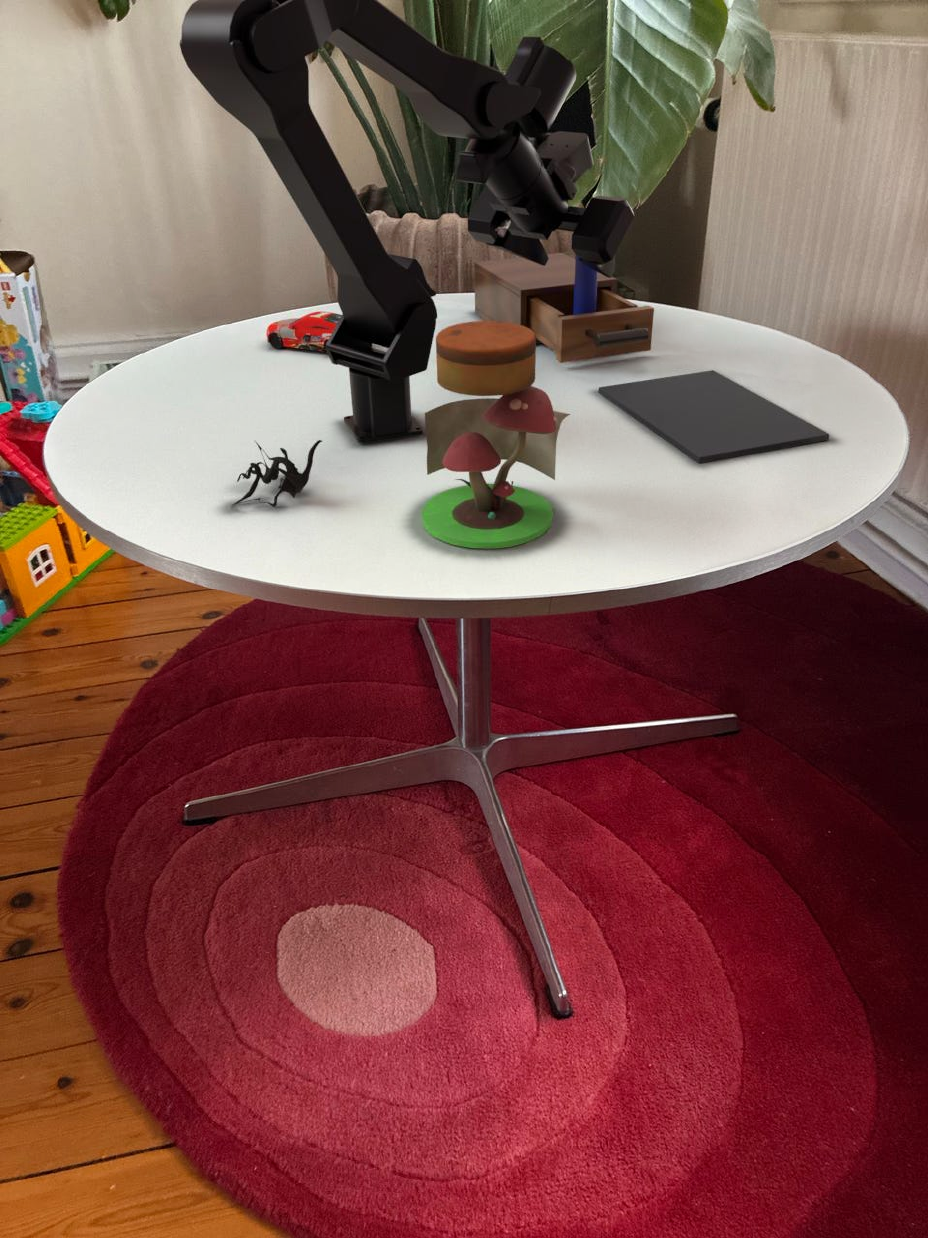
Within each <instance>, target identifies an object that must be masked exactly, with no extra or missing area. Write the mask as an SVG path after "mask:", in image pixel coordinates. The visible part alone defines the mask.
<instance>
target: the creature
mask: <svg viewBox="0 0 928 1238" xmlns="http://www.w3.org/2000/svg"><path fill="white" fill-rule="evenodd" d="M253 441H254V443H256V445H257V447H258V449H259V451H260V454H261V456H262V459H263V462H262V461H259V462H250V463H249V465H250V466H249V467H248V469H247V470H246V471H245V473H244V472H241V473H240V474H239V475H238V478H237V480H236V483H238V482H239V481H240V480H241V478H242V479H243V480H244V479H247V480H249V479H250V478H251V476H252V474H253V475H255V479H254V481H253V482H252V484H251V485H250V488H249V490H248V491H247V493H246V494H245V495H243V496H242V498H240V499H238V500H237V501H236V502H234V503H233V504H231V505H230V507H233V506H235V505H237V504H242V503H247V502H252V501H259V503H261V504H268V505H269V506H271V507H272V508H275V507H277V504H278V497H280V495H281V494H282V493H283V492H285V493H287V494H290V496H292V498H293V499H295V497H296V495H297V494H299V493H301V491H303V490H304V488H305V487H306V485H307V484H308V481H309V480H310V474H311V470H312V467H313V461H314V455H315V451H316V449H317V447H318V446H319V445H320V443H324V442H323V440H322V439H318V440H316V442H314V444H312V446H311V447H310V449H309V451H308V454H307V461H306V466H305V468H304V470H303V472H299V470H298V467H296V465H295V463H294V462H293V461H291V460H290V459H289V456H288V452H287V450H286V449H285V448H283V447H280V448H279V450H280V451H281V453H282V454H283V456H274V457H270V456H268V454H267V453H266V452H265V450H264V449H263V447H261V445H260V444H259V443H258V442H257V440H255V439H253ZM263 453H264V454H265V456H266V457H267V458H268V460H270V461H272V464H271V466H270V467H269V466H268V464H267V463H266V460H265V458H264V455H263ZM280 464H282V465H284V466H285V469H283V468H282V467H280ZM260 465H263V466H264V467H265V472H264V474H263V473H262V469H261V466H260ZM280 473H281V474H282V475H284V476H282V477H280V478H279V474H280ZM241 476H242V477H241ZM278 478H279V482H280V483H279V486H278V487H277V489H278V491H277V493H276V494H275V496H274V498H273V503H272V502H269V501H263V502H262V501H261V499H262V498H261V497H258V498H253V499H250V500H247V499H249V498H250V497H252V496H253V495H254V493H255V492H256V490H257V487H258V486H259V482H260V481H262V483H263V484H265V485H269V484H271V483H272V481H277V479H278ZM283 478H284V479H283Z"/></svg>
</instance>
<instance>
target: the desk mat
mask: <svg viewBox="0 0 928 1238" xmlns="http://www.w3.org/2000/svg"><path fill="white" fill-rule="evenodd" d="M597 392H598V393H599V394H600V395H601V396H603V397H604V398H606V400H608V401H610V402H611V403H613V404H614V405H615V406H617V407H619V409H621V410H622V411H624V412H625V413H626V414H628V415H630V416H631V417H632V418H634V419H635V420H637V421H638V422H640V424H642V425H644V426H645V427H647V428H648V429H650V430H651V431H653V432H654V434H657V435H658V436H659V437H661V438H662V439H664V440H665V441H666V442H668V443H669V444H670V445H672V446H674V447H675V448H677V450H680V451H681V452H682V453H683V454H685V455H687V457H690V459H692V460H694V461H695V462H696V463H698V464H701V463H707V462H712V461H718V460H724V459H729V458H735V457H740V456H741V457H742V456H745V455H751V454H757V453H758V454H759V453H763V452H769V451H773V450H779V449H785V448H790V447H795V446H801V445H806V444H813V443H818V442H824V441H829V439H830V433H828V432H827V431H825V430H823V429H821V428H819V427H818V426H816V425H814V424H812V423H810V422H808V421H806V420H805V419H803V418H801V417H799V416H798V415H795V414H794V413H792V412H790V411H788V410H786V409H784V408H783V407H781V406H779V405H777V404H775V403H774V402H772V401H770V400H768V399H766V398H765V397H763V396H761V395H759V394H758V393H755V392H754V391H752V390H750V389H748V388H747V387H745V386H742V385H741V384H739V383H737V382H735V381H733V380H732V379H730V378H728V377H726V376H724V375H723V374H720V373H719V372H717V371H716V370H713V369H711V370H706V371H698V372H691V373H685V374H679V375H672V376H666V377H658V378H652V379H646V380H638V381H632V382H624V383H619V384H611V385H605V386H599V387H598V391H597Z"/></svg>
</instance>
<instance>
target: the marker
mask: <svg viewBox="0 0 928 1238" xmlns="http://www.w3.org/2000/svg"><path fill="white" fill-rule="evenodd" d="M579 258H580V257H579V256H577V255H576V254H575V258H574V259H575V283H574V308H573V315H579V314H587V313H595V312H596V298H597V279H598V272H597V271H595V270H593V269H592V268H590V267H588V266H586V265H585V264H583V263H581V262H580V261H579Z"/></svg>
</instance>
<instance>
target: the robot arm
mask: <svg viewBox="0 0 928 1238" xmlns="http://www.w3.org/2000/svg"><path fill="white" fill-rule="evenodd" d="M180 37H181V39H180V40H179V48H180V53H181V55H182V57H183V59H184V61H185V65H186V66H187V68H188V69H189V71H190V72H191V74H193V76H194V77H195V78H196V79H197V81H198V82H199V83H200V84H201V86H203V88H204V89H205V90H206V91H207V92H208V94H209V95H210V97H212V98H213V100H214V101H215V102H216V103H217V104H218V105H219V106H220V107H221V108H223V109H224V111H226V112H227V113H228V114H230V115H231V116H232V117H233V118H235V119H236V120H237V121H238V122H239V123H241V124H242V125H243V126H244V127H245V128H246V129H248V130H249V131H250V132H251V133H252V134H253V135H254V137H255V138H256V139H257V141H258V143H259V145H260V147H261V148H262V150H263V151H264V153H265V155H266V157H267V159H268V160H269V162H270V163H271V165H272V167H273V169H274V170H275V171H276V174H277V175H278V177H279V179H280V180H281V182H282V184H283V186H284V187H285V189H286V190H287V192H288V194H289V195H290V197H291V200H293V202H294V204H295V206H296V208H297V209H298V211H299V212H300V214H301V217H302V218H303V220H304V221H305V222H306V225H307V226H308V228H309V230H310V231H311V233H312V235H313V236H314V238H315V240H316V242H317V243H318V245H319V246H320V248H321V249H322V251H323V253H324V255H325V257H326V258H327V260H328V262H329V263H330V265H331V267H332V269H333V270H334V272H335V274H336V276H337V292H336V293H337V296H336V298H337V299H336V300H337V304H338V306H339V308H340V309H339V310H340V312H341V313H342V314H341V315H342V316H341V318H340V320H339V321H338V323H337V325H336V327H335V329H334V330H333V332H332V334H331V336H330V338H329V339H328V341H327V343H326V346H325V347H326V350H327V352H326V353H327V355H328V357H329V360H330V363H331V364H333V365H335V366H337V365H339V366H341V367H345V368H347V369H348V374H349V375H348V376H349V386H350V398H351V409H352V415H347V416H343V423H344V424H345V426H346V427H347V429H348V430H349V432H350V433H351V435H352V436H353V437H354V438H355V440H356V441H357V443H359V444H367V443H368V444H369V443H375V442H382V441H388V440H394V439H401V438H402V439H403V438H406V437H407V438H408V437H415V436H420V435H423V434H424V428H423V426H422V425H421V424H420V423H419V422H418V421H417V420H416V418H415V417H414V416H413V415H412V402H411V400H412V398H411V379H410V377H411V376H414V375H417V374H420V373H423V372H425V371H427V370H428V366H429V361H430V356H431V351H432V346H433V341H434V336H435V332H436V325H437V318H438V311H437V306H436V304H435V301H434V299H433V298H434V297H436V296H437V291H435V290H434V289H433V288H432V287H431V286H430V284H429V283H428V281H427V279H426V278H427V277H426V276H425V272H424V270H423V267H422V265H421V263H419V261H418V259H416V258H412V257H406V256H403V255H397V254H393V253H388V251H387V250H386V249H385V245H384V244H383V243H382V240H381V239H380V237H379V235H378V233H377V231H376V228H375V227H374V226H373V223H372V222H371V220H370V218H369V216H368V214H367V212H366V210H365V208H364V207H363V205H362V203H361V201H360V199H359V197H358V195H357V193H356V191H355V190H354V188H353V186H352V183H351V182H350V180H349V178H348V177H347V174H346V173H345V171H344V169H343V167H342V165H341V162H340V161H339V160H338V157H337V155H336V153H335V152H334V149H333V148H332V146H331V144H330V142H329V141H328V139H327V137H326V135H325V132H324V131H323V128H322V127H321V125H320V123H319V121H318V119H317V117H316V116H315V114H314V112H313V110H312V107H311V104H310V73H309V72H310V71H309V65H308V61H307V59H306V57H308V56H309V55H311V54H312V53H314V52H316V51H318V50H319V49H321V48H322V46H323V45H324V44H325V42H326V41H327V42H329V44H331V45H333V46H334V47H336V48H337V49H339V50H340V51H342V52H343V53H344V54H346V55H348V56H349V57H350V58H352V59H354V60H355V61H357V62H358V63H360V64H361V65H362V66H364V67H366V68H367V69H368V70H370V71H372V72H373V73H374V74H376V75H378V76H379V77H381V79H383V80H385V81H386V82H388V83H389V84H391V85H392V86H394V87H395V88H397V89H398V90H400V91H401V92H402V93H403V94H404V95H405V96H406V97H407V98H408V99H409V100H410V103H411V106H412V109H413V111H414V113H415V115H416V116H417V117H418V118H419V119H421V121H423V123H424V124H426V126H427V127H428V128H429V129H430V130H431V131H432V132H434V133H435V134H436V135H439V136H441V137H449V138H460V139H470V140H469V141H468V144H467V146H466V148H465V150H461V151H459V153H458V157H459V158H458V164H457V165H456V167H455V168H456V170H455V180H456V181H457V182H462V183H470V184H479V185H484V187H483V188H482V190H481V193H480V195H479V197H478V198H477V200H476V202H475V204H474V206H473V208H472V210H471V212H470V213H469V215H468V217H467V221H466V222H467V232H468V233H469V234H470V236H471V237H472V238H473V240H474V241H475V242H477V243H484V244H485V245H486V246H488V247H492V248H495V249H498V250H501V251H504V252H507V253H509V254H512V255H514V256H516V257H522V258H525V259H527V260H530V261H532V262H535V263H537V264H540V265H543V266H545V265H546V263H547V261H548V259H549V257H548V255H547V254H548V252H547V251H546V250H547V249H546V248H545V246H544V244H543V243H542V241H541V240H543V241H549V238H550V236H551V235H552V233H553V232H555V231H558V230H559V231H565V232H571V233H572V234H571V246H570V247H571V250H572V252H573V253H574V255H575V256H576V255H577V256H579V257H580V258H579V261H580V262H581V263H583V264H585V265H586V266H588V267H590V268H592V269H593V270H595V271H597V272H599V273H600V274H602V275H604V276H606V277H608V278H611V277H613V275H614V273H615V271H616V263H615V255H616V253H617V251H618V250H619V248H620V246H621V244H622V242H623V239H624V238H625V236H626V234H627V232H628V230H629V228H630V227H631V224H632V222H633V220H634V219H635V216H636V215H635V213H634V211H633V209H632V207H631V205H630V203H629V201H628V200H627V199H626V198H621V197H614V196H613V197H612V196H605V195H596V196H591V198H590V200H589V201H588V203H587V205H586V207H580V206H571V205H568V202H569V201H573V200H574V199H575V197H576V195H577V192H578V191H579V190H578V189H577V187H576V185H575V183H576V182H578V180H579V179H580V178H581V177H582V176H584V175H585V173H586V172H587V171H588V170H589V171H590V170H591V169H592V168H593V167H594V165H595V163H594V158H593V154H592V148H591V145H590V140H589V136H588V134H587V133H585V132H573V131H560V130H559V131H555V132H549V131H550V129H551V127H552V125H553V123H554V121H555V120H556V118H557V116H558V114H559V112H560V110H561V108H562V106H563V104H564V102H565V101H566V99H567V97H568V96H569V93H570V91H571V90H572V88H573V86H574V84H575V82H576V80H577V70H576V68H575V66H574V64H573V62H572V61H571V60H569V59H567V57H565V56H564V55H563V54H562V53H560V51H559V50H557V49H555V48H554V47H551V46H549V45H546V44H545V42H544V41H543V39H542V37H541V36H523V37H522V38H521V39H520V42H519V44H518V46H517V48H516V51H515V53H514V56H513V58H512V60H511V62H510V64H509V65H508V68H507V69H506V72H505V74H503V72H502V71H501V70H500V69H497V68H495V67H492V66H490V65H488V64H485V63H484V62H480V61H479V60H476V59H474V58H473V59H472V58H470V57H469V58H468V57H466V56H461V55H458V54H454V53H452V52H449V51H447V50H444V49H442V48H441V47H439V45H437V44H436V43H434V42H433V41H432V40H430V39H429V37H426V36H425V35H424V34H422V33H421V32H420V31H418V30H417V28H415V27H413V26H412V25H411V24H409V23H408V22H407V21H405V20H404V19H403V18H402V17H400V16H399V15H397V14H396V13H395V12H393V11H392V10H391V9H390V8H389V7H387V6H386V5H384V4H383V3H382V2H380V1H379V0H196V1H194V2H192V3H191V4H190V7H188V9H187V10H186V12H185V14H184V17H183V20H182V24H181V36H180ZM373 345H376V346H379V347H382V348H387V351H385V350H381V349H378V348H374V347H373ZM326 350H325V351H326Z"/></svg>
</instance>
